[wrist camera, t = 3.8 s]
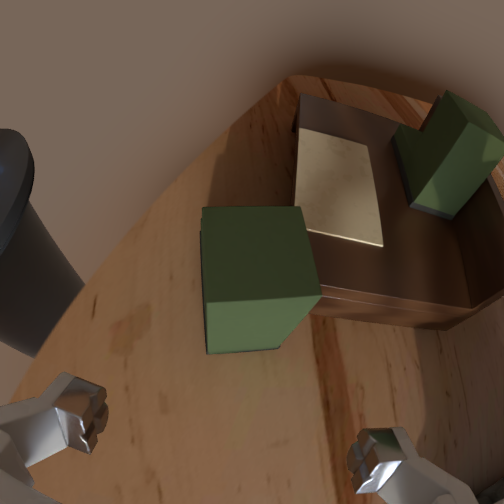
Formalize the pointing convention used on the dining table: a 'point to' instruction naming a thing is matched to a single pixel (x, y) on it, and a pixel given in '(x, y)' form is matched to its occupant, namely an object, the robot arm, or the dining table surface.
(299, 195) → the shoe shelf
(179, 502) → the dining table surface
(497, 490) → the stuffed elephant
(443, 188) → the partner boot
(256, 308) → the boot
